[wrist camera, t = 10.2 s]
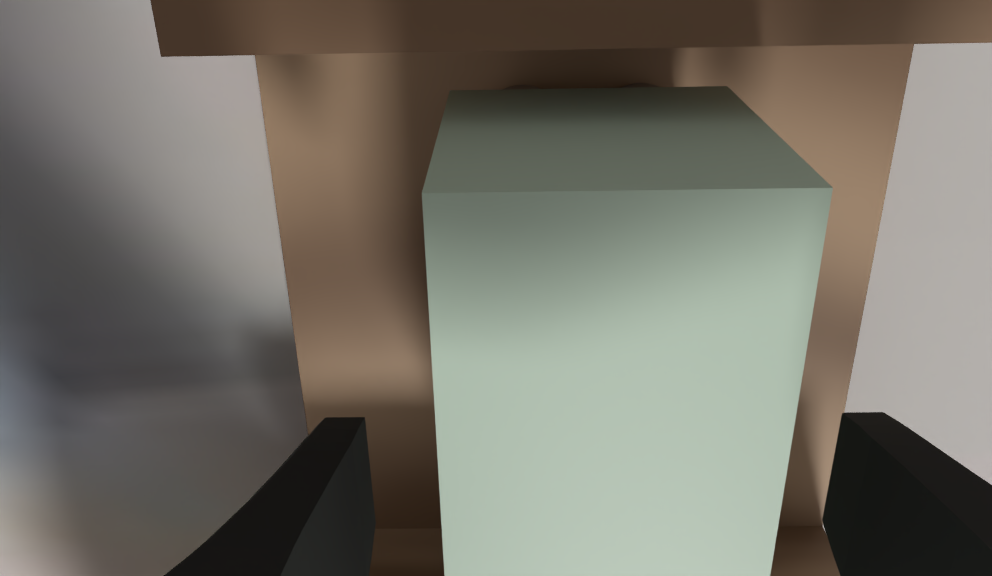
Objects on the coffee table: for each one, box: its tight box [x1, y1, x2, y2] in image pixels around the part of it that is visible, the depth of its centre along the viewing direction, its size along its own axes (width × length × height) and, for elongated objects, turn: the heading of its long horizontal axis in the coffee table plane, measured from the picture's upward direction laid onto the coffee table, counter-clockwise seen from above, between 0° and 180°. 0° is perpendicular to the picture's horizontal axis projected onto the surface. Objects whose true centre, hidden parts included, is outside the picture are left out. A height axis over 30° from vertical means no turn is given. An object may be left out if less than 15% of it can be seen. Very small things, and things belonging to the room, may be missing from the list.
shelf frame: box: [151, 0, 992, 576], centre depth 16 cm, size 15×12×6 cm
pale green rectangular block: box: [422, 86, 833, 576], centre depth 14 cm, size 10×4×5 cm, turn 1°
